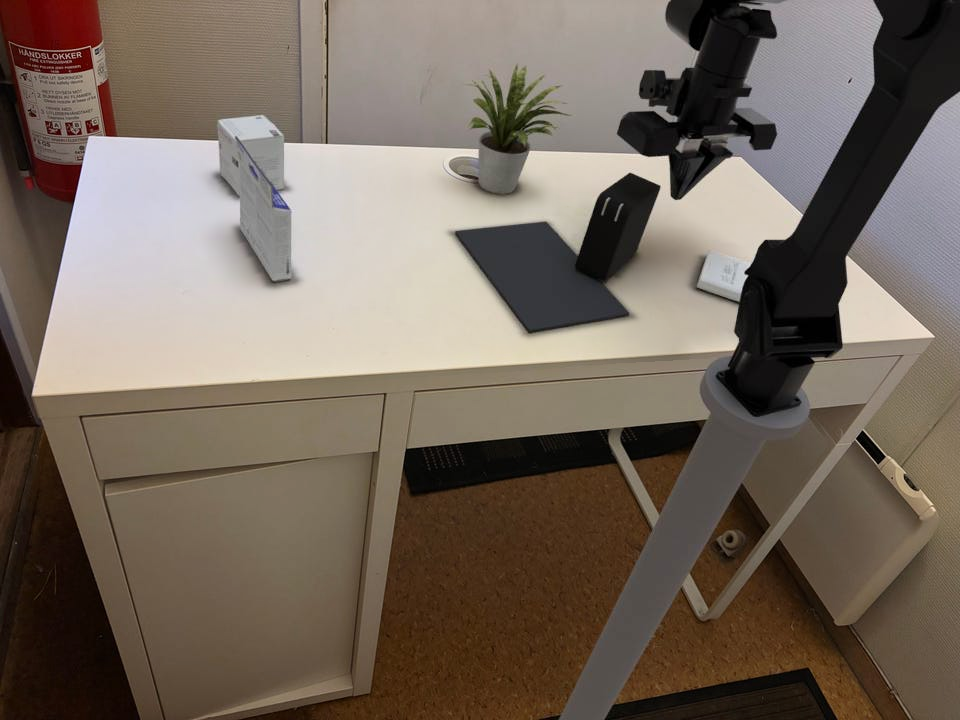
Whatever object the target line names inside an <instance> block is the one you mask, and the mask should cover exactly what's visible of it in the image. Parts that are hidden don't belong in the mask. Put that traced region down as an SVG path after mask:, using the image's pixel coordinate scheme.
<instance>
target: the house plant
mask: <svg viewBox="0 0 960 720" xmlns="http://www.w3.org/2000/svg"><path fill="white" fill-rule="evenodd" d="M518 64H519V63H516V65H515V67H514V70H513V72H512V75H511V79H510V84H509V89H508V94H507V97H506V105H505V104H504V97H503V91H502V88H501V85H500V82H499V80H498V79H497V77H496V76H495V74H494V73H493V72H492V70H490V69H488V72H489V75H488V74H485V76H486V77H488V78H490V79H491V82H492V87H493V91H494V94H495V101H496V105H495V101H494V98H493V96H492V94H491V92H490V90H489V89H488V87H487V85H486V83H485V82H484V80H482V79H480V78H479V77H477V79H478V80H479V82H481V83H482V84H483V86H484V88H485V89H486V90H484V89H483V88H482V87H481V85H479V84H478V83H477V82H475V80H473V79H471V81H472V82H473V84H470V83H466V84H465V83H464V84H463V83H461V86H462V85H463V86H471V87H476V88H477V89H478V91H479V92H480V94H481V95H482V96H483V98H479V97H478V98H477V97H476V98H473V103H475V104H476V105H477V106H478V107H479V108H480V109H481V110H482V111H483V112H484V113H485V114H486V116H487V118H488V119H489V121H490V124H491V125H490V124H488V123H487V122H486V121H485V120H484V119H483V118H480V117H477V116H475V117H473V118H472V119H471V121H470V123H469V125H468V127H470V126H471V127H470V128H469V130H468V131H470V130H473V129H481V128H482V129H484V128H485V129H488V130H489V131H486V132H483V133H481V134H480V135H479V136H478V185H479V186H480V188H482V189H483V190H485V191H487V192H489V193H493V194H498V195H499V194H500V195H506V194H510V193H513V192H514V191H515V189H516V188H517V184H518V182H519V180H520V177H521V175H522V171H523V169H524V166H525V163H526V161H527V159H528V157H529V153H530V151H531V144H530V142H529V137H528V136H529V135H532V134H533V133H534V134H535V133H536V134H545V135H549V136H552V137H554V135H553V133H552V132H551V130H550V129H548V128H552V129H554V130H555V131H557V129H559V127H557V126H555V125H553V124H552V123H551V122H549V121H548V120H543V119H542V120H540V119H539V120H534V121H532V120H533V119H534V118H536V117H539V116H541V115H542V116H543V115H562V116H567V117H568V116H569V117H571V116H572V115H571V114H567V113H564V112H561V111H558V110H556V109H557V108H555V107H554V106H552V105H547V104H562V105H568V103H567V102H563V101H557V100H546V101H543V100H544V99H545V98H546V97H547V96H548V95H549V94H550V93H551V92H553V91H555V90H557V89H559V88H561V87H562V85H554V86H551V87H548V88H546V89H544V90H543V91H541V92H540V93H539V94H537V95H536V96H534V97H533V98H532V99H530V100H529V101H528V102H525V100H526V99H527V97H528V96H529V95H530V94H531V92H532V91H533V90H534V88H535V87H536V86H537V85H538V84H539V83H540V82H541V81H542V80H543V78H544V77H545V76H546V74H543V75H542V76H540V77H539V78H537V79H536V80H534V81H533V82H532V83H531V84H530V85H528V86H527V87H526V74H527V65H526V66H523V67H522V68H521V69H520V70H519V72H518V69H519V67H518V66H519V65H518ZM525 87H526V88H525ZM541 101H542V102H541ZM524 102H525V103H524ZM544 104H545V105H544ZM523 105H525V106H524V107H523V109H521V112H519V111H520V108H521V107H522V106H523ZM540 105H541V106H540ZM536 106H538V107H537V108H535V109H533V108H534V107H536ZM545 108H550V109H545ZM518 112H519V113H518ZM530 121H531V122H530ZM535 125H542V126H537V127H532V126H535ZM530 127H531V128H530Z"/></svg>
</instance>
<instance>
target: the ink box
mask: <svg viewBox="0 0 960 720" xmlns="http://www.w3.org/2000/svg"><path fill="white" fill-rule="evenodd" d="M235 139H236V144H237V151H238V158H239V167H240V196H239V229H240V231H241V232H242V234H243V235H244V237H245V239H246V240H247V242H248V244H249V246H250V247H251V248H252V250H253V252H254V253H255V255H256V256H257V258H258V260H259V262H260V263H261V265H262V267H263V268H264V270H265V271H266V273H267V274H268V276H269V278H270V279H271V281H272V282H276V283H277V282H283V281H288V280H291V279H292V209H291V208H290V207H289V205H288V204H287V202H286V201H285V200H284V199H283V197H282V196H281V194H280V193H279V191H278V190H276V189H275V187H274V183H272V182H271V181H270V180H269V179H268V177H267V176H266V175H265V173H264V172H263V171H262V169H261V168H260V166H259V165H258V163H257V162H256V161H254V159H253V158H252V156H251V155H250V153H249V152H248V151H247V149H246V148H245V147H244V145H243V144H242V142H241V141H240V140H239V138H238V137H237V136H235Z"/></svg>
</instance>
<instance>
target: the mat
mask: <svg viewBox="0 0 960 720" xmlns="http://www.w3.org/2000/svg"><path fill="white" fill-rule="evenodd" d="M454 234H455V236H456V237H457V239H458V240H460V242H461V244H462V245H463V247H464V248H465V249H466V250H467V252H468V253H469V254H470V256H471V257H472V258H473V260H474V261H475V263H476V265H478V266H479V267H480V269H481V270H482V272H483V273H484V275H485V276H486V277H487V279H488V280H489V281H490V282H491V284H492V285H493V287H494V288H495V290H496V291H497V292H498V293H499V295H500V296H501V298H502V299H503V300H504V301H505V303H506V304H507V305H508V307H509V308H510V310H511V311H512V312H513V314H514V315H515V316H516V318H517V319H518V321H519V322H520V323H521V324H522V326H523V327H524V328H525V330H526V331H527V333H529V334H531V333H536V332H542V331H543V332H544V331H548V330H549V331H550V330H554V329H559V328H560V329H561V328H566V327H571V326H577V325H578V326H579V325H583V324H588V323H594V322H601V321H606V320H607V321H608V320H613V319H618V318H623V317H629V316H630V314H631V313H630V312H629V310H628V309H627V308H626V307H625V306H624V305H623V304H622V303H621V301H619V300H618V299H617V297H616V296H615V295H614V294H613V293H612V292H611V290H610V289H608V287H607V286H606V285H605V284H604V282H603V281H601V280H599V279H597V278H595V277H593V276H591V275H589V274H587V273H585V272H583V271H581V270H579V269H577V268H575V264H576V261H577V258H578V254H577V253H576V252H575V251H574V250H573V249H572V248H571V247H570V246H569V245H568V244H567V242H565V240H564V239H563V238H562V237H561V236H560V235H559V234H558V233H557V232H556V231H555V229H554V228H553V227H552V226H551V225H550V224H549V223H548V222H547V221H538V222H528V223H520V224H519V223H518V224H508V225H500V226H490V227H479V228H471V229H470V228H469V229H461V230H455V232H454Z"/></svg>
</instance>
